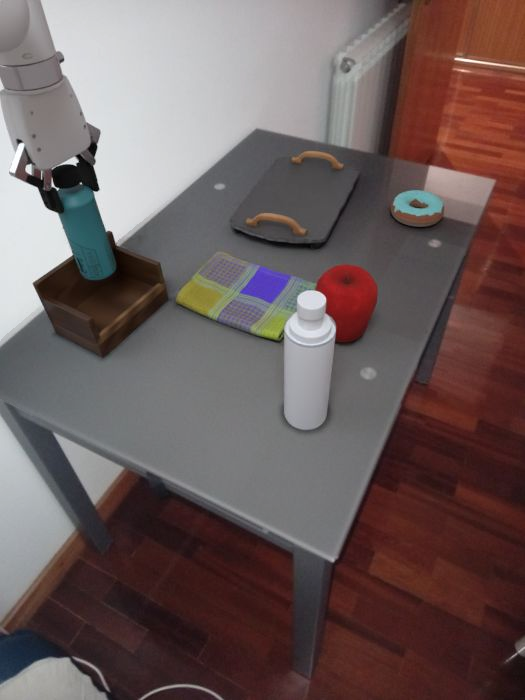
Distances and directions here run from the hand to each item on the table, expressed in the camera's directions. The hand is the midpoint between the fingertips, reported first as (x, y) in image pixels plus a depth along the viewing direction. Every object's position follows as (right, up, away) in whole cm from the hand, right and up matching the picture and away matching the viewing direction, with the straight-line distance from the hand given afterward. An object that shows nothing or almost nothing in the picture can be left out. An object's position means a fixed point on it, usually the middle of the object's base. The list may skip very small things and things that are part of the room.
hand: (74, 198), depth 75 cm
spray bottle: (+36, -33, +1) cm, 49 cm away
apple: (+43, -20, +13) cm, 50 cm away
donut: (+65, +8, +38) cm, 76 cm away
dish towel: (+26, -13, +20) cm, 36 cm away
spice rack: (+1, -17, +18) cm, 25 cm away
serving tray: (+38, +12, +43) cm, 59 cm away
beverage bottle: (+1, -10, +11) cm, 15 cm away
